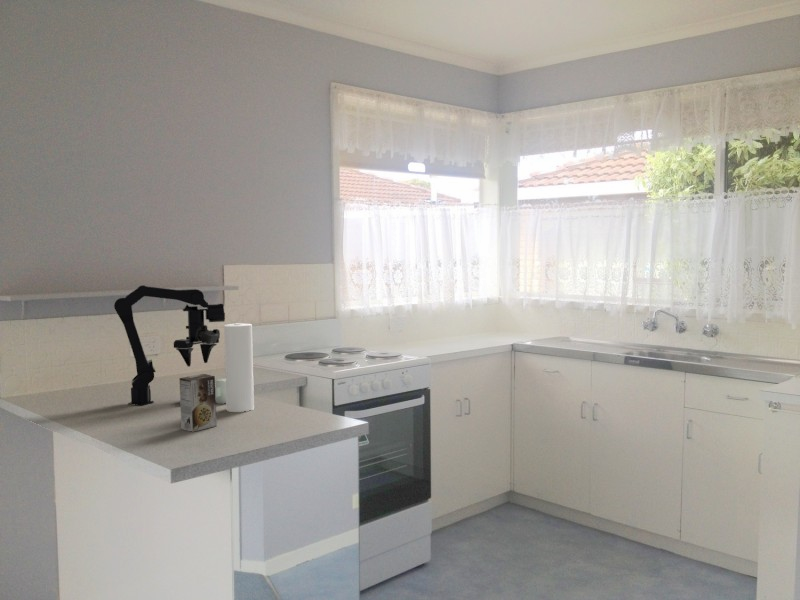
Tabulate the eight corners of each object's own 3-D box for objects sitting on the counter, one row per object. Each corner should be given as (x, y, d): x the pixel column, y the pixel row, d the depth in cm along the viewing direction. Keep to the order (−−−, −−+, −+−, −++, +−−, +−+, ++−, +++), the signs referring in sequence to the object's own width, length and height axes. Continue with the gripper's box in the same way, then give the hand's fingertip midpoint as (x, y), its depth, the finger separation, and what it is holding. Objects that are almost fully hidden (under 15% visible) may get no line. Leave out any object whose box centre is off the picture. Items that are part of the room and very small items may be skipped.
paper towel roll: (247, 412, 247) (245, 324, 245) (221, 411, 249) (219, 324, 247) (258, 406, 257) (256, 322, 255) (233, 406, 258) (231, 322, 256)
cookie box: (205, 423, 232) (203, 373, 231) (217, 426, 228) (215, 375, 227) (180, 429, 225) (178, 377, 224) (192, 432, 221) (190, 379, 220)
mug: (224, 405, 260) (223, 383, 259) (208, 403, 263) (207, 382, 262) (239, 400, 268) (238, 379, 268) (223, 399, 271) (223, 378, 270)
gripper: (196, 326, 257) (197, 369, 258) (229, 321, 274) (230, 362, 275) (171, 325, 262) (173, 367, 263) (206, 320, 279) (207, 360, 280)
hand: (197, 364), depth 270 cm, fingers open, 9 cm apart
